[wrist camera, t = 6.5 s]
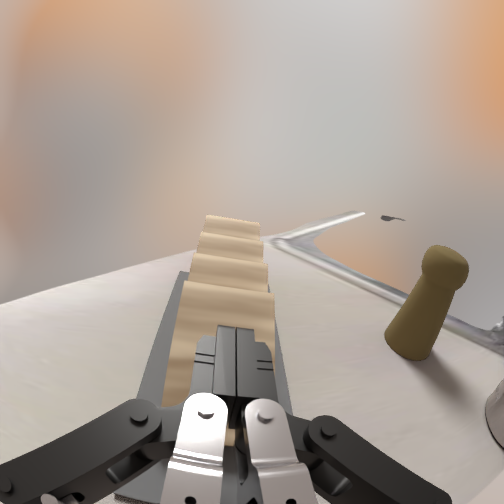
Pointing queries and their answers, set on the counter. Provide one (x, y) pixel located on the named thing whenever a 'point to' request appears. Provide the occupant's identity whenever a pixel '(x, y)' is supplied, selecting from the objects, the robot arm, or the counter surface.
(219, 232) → the domino
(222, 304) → the domino
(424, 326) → the cork
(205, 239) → the domino
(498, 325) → the counter surface
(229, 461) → the mat
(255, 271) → the domino
